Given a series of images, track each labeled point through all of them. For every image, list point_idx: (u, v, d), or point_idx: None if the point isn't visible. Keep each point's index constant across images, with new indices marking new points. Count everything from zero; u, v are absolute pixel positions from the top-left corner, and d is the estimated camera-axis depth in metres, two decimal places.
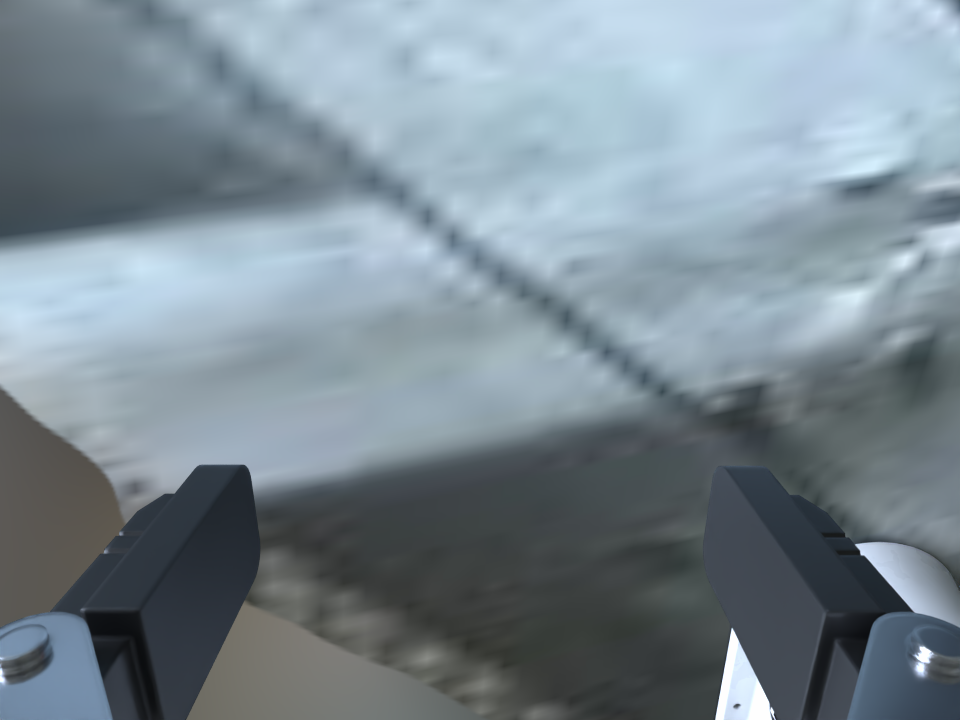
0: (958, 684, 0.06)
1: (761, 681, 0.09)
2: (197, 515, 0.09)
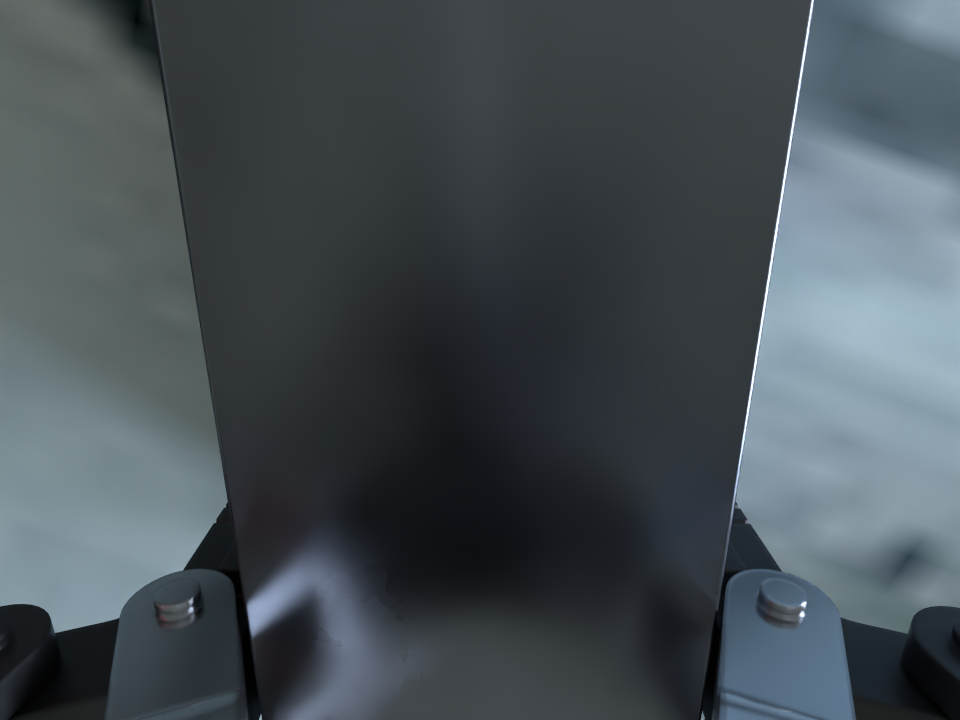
0: (791, 628, 0.07)
1: None
2: None
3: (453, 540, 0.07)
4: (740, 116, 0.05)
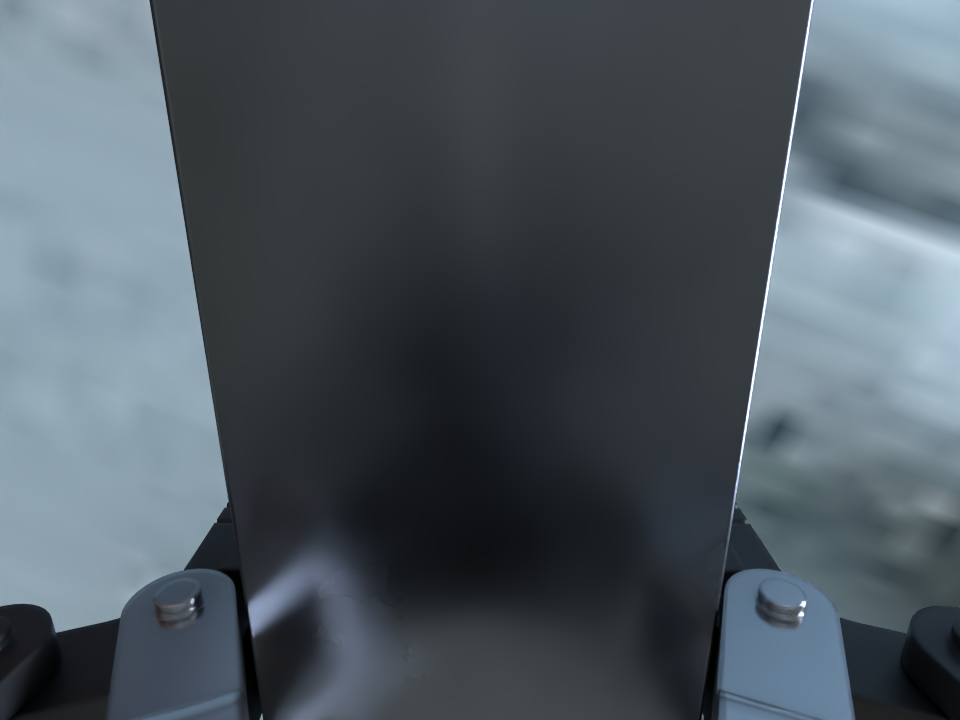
0: (789, 628, 0.07)
1: None
2: None
3: (453, 539, 0.07)
4: (740, 114, 0.05)
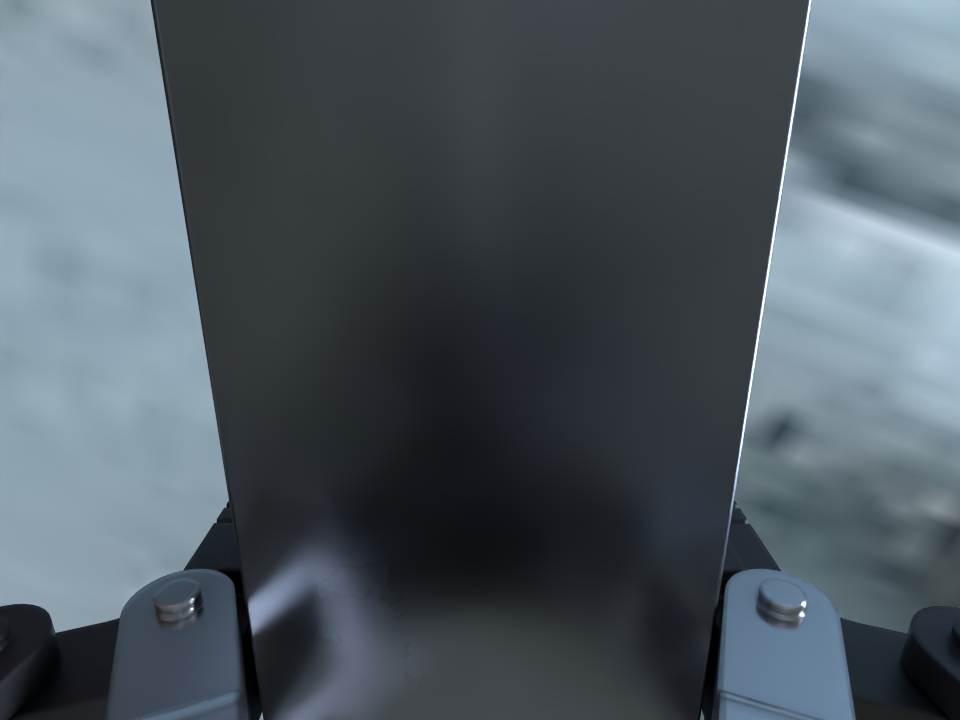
0: (790, 628, 0.07)
1: None
2: None
3: (453, 536, 0.07)
4: (739, 111, 0.05)
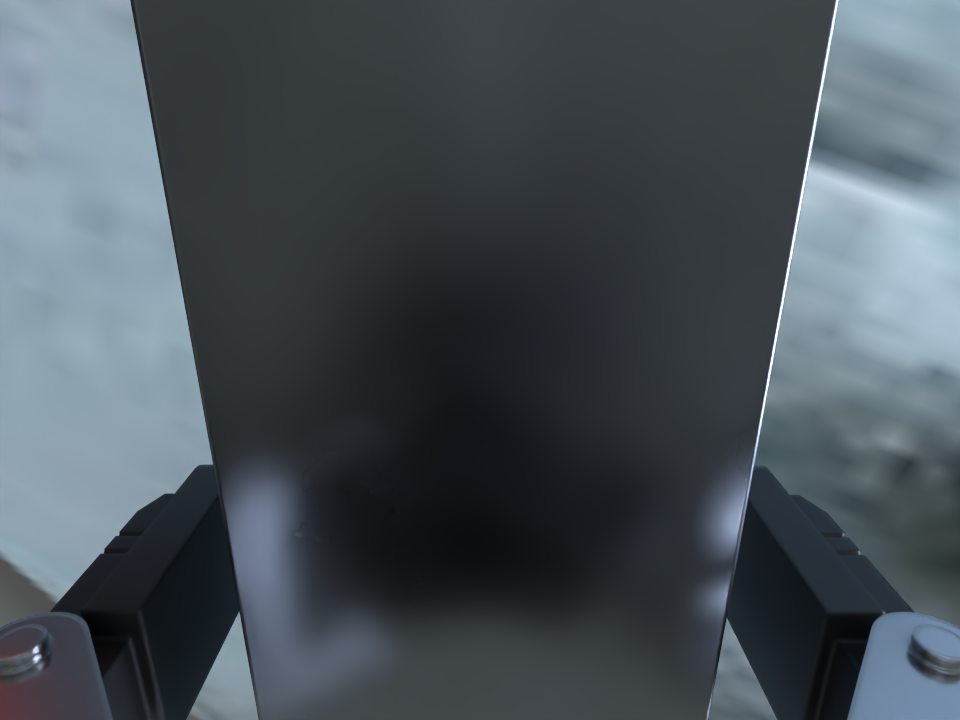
0: (958, 684, 0.06)
1: (761, 681, 0.09)
2: (197, 515, 0.09)
3: (451, 420, 0.06)
4: None
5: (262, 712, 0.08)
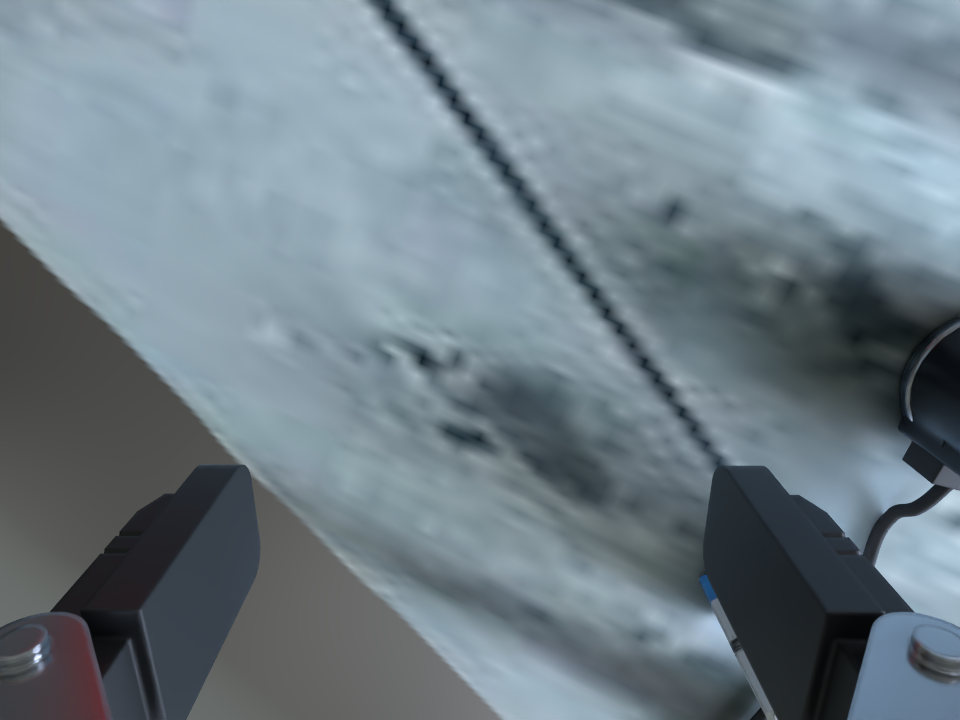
0: (958, 684, 0.06)
1: (761, 681, 0.09)
2: (197, 515, 0.09)
3: None
4: None
5: None
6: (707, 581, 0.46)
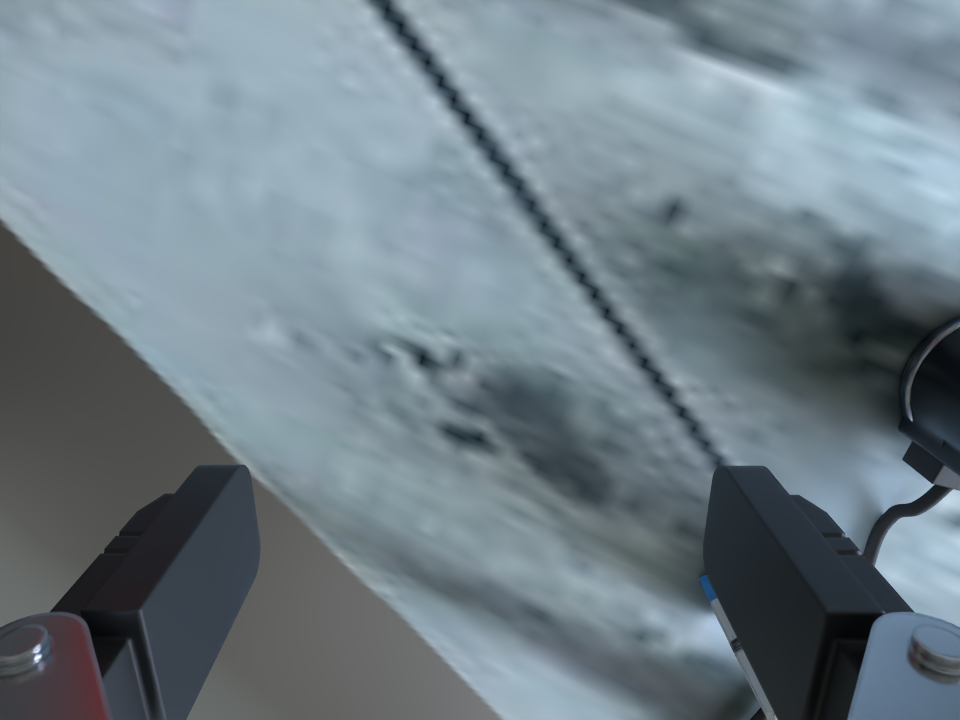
0: (958, 684, 0.06)
1: (761, 681, 0.09)
2: (197, 515, 0.09)
3: None
4: None
5: None
6: (707, 581, 0.46)
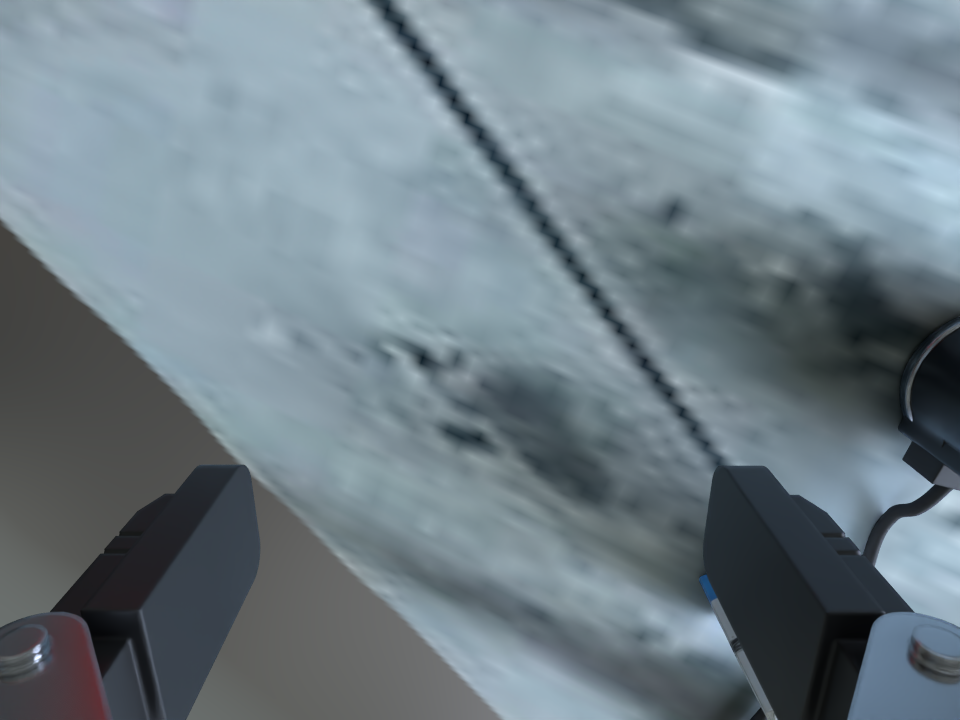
0: (958, 684, 0.06)
1: (761, 681, 0.09)
2: (197, 515, 0.09)
3: None
4: None
5: None
6: (707, 581, 0.46)
